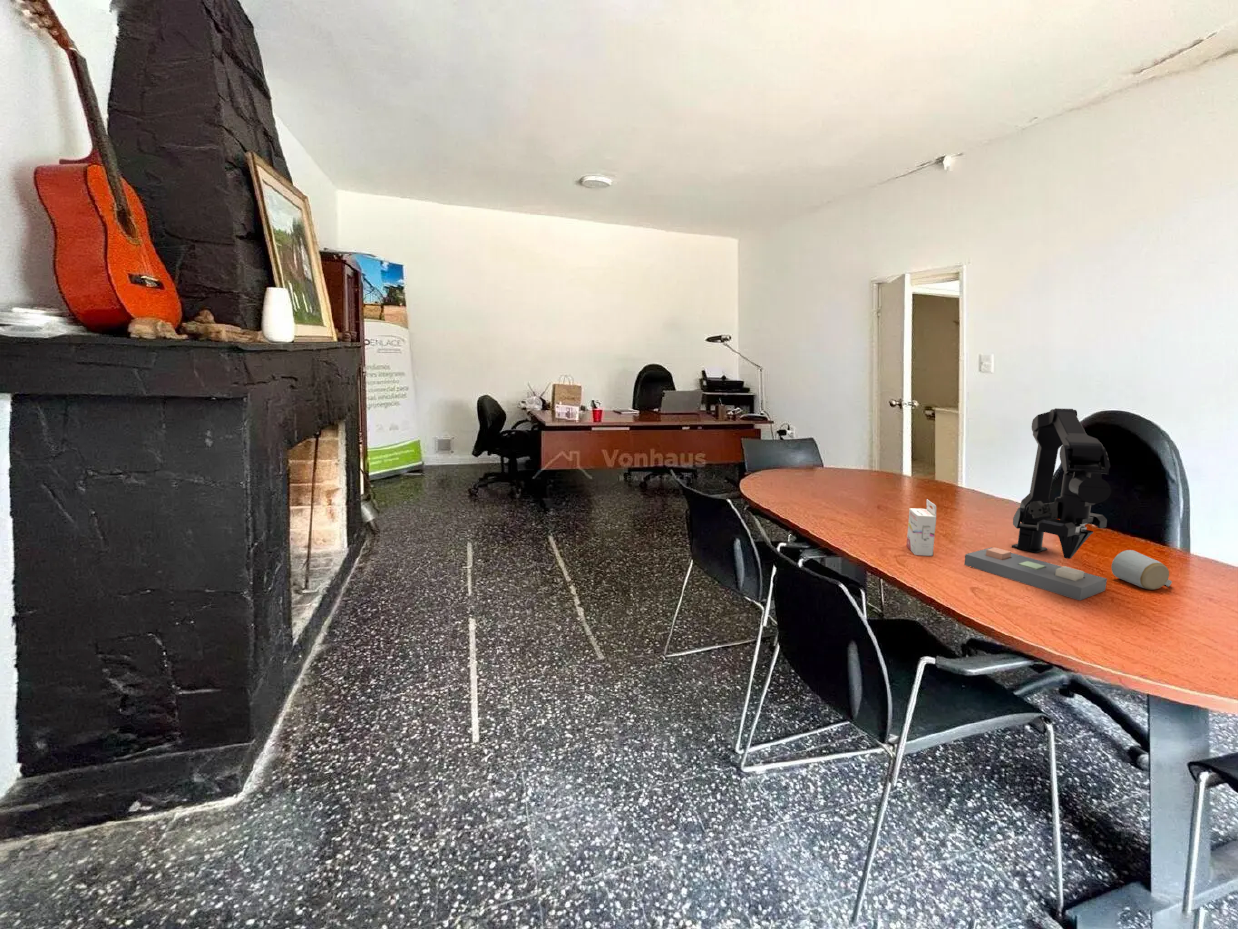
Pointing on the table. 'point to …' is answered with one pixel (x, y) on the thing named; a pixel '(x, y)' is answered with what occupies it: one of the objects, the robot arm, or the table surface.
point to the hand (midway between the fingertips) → (1067, 558)
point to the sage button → (1032, 565)
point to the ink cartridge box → (922, 530)
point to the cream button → (1069, 573)
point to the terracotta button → (998, 553)
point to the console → (1037, 575)
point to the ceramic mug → (1140, 570)
